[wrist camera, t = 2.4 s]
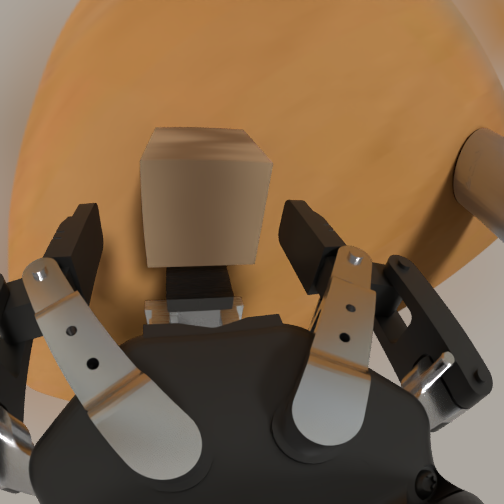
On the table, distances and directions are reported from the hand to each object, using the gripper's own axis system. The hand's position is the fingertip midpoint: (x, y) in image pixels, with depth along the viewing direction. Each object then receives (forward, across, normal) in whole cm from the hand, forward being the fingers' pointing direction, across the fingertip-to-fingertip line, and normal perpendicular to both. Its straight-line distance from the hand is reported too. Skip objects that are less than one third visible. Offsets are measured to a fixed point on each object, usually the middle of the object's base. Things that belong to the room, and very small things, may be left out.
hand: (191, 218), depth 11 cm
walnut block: (+6, -1, 0) cm, 6 cm away
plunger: (+4, 0, +10) cm, 10 cm away
